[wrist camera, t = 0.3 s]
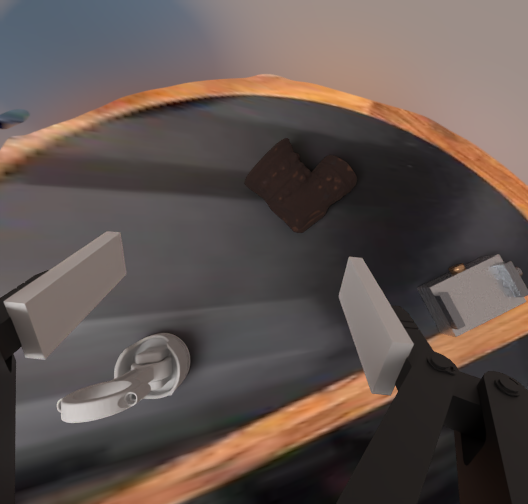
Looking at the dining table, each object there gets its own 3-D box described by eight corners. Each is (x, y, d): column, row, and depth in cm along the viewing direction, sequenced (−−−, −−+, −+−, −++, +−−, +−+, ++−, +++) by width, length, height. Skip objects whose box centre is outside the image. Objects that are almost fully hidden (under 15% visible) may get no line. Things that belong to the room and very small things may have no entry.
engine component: (192, 388, 48) (188, 329, 49) (143, 458, 28) (138, 355, 29) (129, 396, 48) (127, 336, 49) (33, 472, 27) (34, 367, 29)
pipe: (370, 177, 46) (308, 111, 45) (308, 240, 46) (243, 175, 44) (346, 189, 56) (295, 134, 55) (295, 241, 55) (242, 187, 54)
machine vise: (519, 294, 51) (550, 294, 46) (440, 333, 50) (462, 338, 45) (491, 245, 53) (518, 240, 47) (414, 282, 51) (432, 281, 46)
